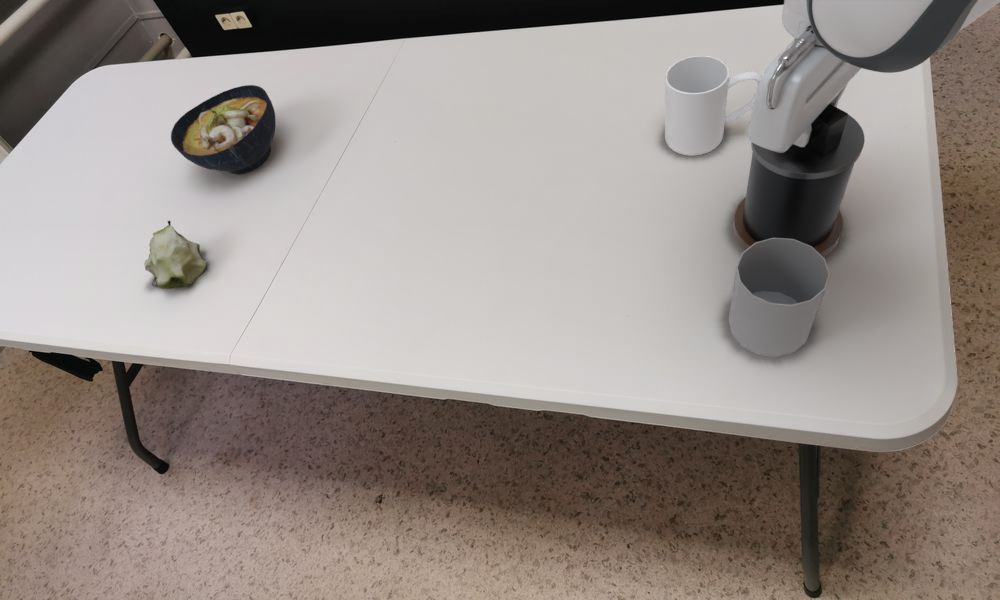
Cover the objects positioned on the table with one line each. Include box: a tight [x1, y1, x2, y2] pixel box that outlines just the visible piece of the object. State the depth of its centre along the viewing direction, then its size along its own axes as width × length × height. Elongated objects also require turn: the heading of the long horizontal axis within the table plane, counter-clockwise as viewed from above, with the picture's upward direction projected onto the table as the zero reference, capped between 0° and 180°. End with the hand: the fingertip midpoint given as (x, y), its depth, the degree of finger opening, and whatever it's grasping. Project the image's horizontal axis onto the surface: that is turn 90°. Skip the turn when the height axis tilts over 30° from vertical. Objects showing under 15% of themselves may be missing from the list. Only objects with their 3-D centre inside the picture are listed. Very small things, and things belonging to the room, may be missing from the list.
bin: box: [743, 104, 866, 247], centre depth 67 cm, size 11×11×17 cm
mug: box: [664, 55, 762, 157], centre depth 82 cm, size 12×8×10 cm, turn 81°
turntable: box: [732, 196, 844, 258], centre depth 75 cm, size 12×12×2 cm
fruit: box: [143, 220, 207, 290], centre depth 92 cm, size 9×9×8 cm
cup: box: [727, 238, 831, 358], centre depth 64 cm, size 8×8×10 cm
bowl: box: [170, 84, 277, 175], centre depth 104 cm, size 17×17×10 cm
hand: (811, 128), depth 62 cm, fingers closed on bin, 3 cm apart
